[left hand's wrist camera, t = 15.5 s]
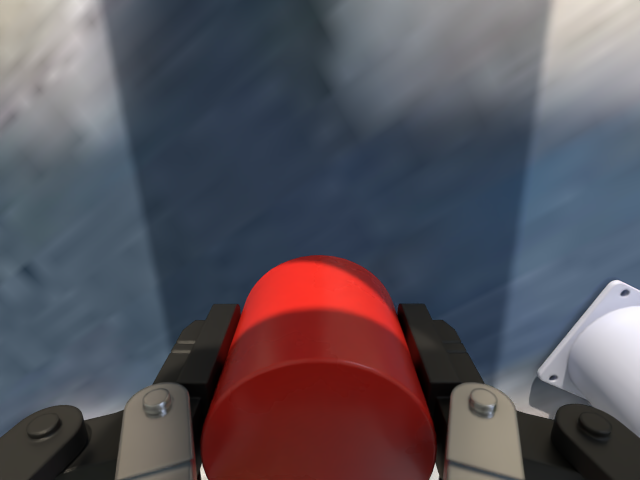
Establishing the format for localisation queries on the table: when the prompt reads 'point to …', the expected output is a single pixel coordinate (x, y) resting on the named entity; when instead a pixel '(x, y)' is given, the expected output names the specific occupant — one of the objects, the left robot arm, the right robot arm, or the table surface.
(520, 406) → the table surface
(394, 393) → the canister
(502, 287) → the table surface
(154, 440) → the left robot arm
